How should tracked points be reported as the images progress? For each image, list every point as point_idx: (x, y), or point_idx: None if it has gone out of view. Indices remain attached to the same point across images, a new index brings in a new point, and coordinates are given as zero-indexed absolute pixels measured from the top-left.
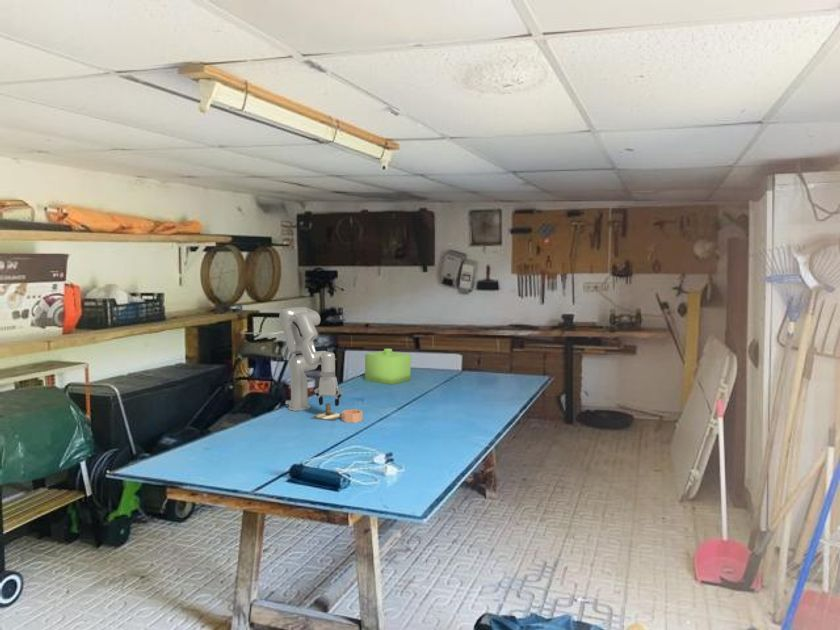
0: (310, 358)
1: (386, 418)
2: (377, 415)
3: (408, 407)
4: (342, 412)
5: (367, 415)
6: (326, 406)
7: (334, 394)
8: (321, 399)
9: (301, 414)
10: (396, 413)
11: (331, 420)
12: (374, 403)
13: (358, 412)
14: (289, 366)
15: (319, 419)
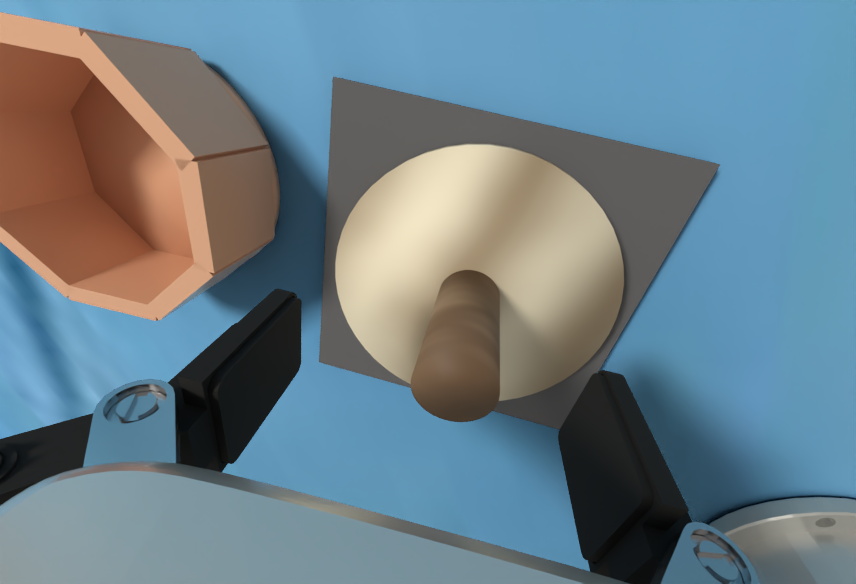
0: None
1: (4, 294)
2: (113, 368)
3: None
4: (169, 136)
5: (173, 367)
6: (477, 340)
7: (17, 494)
8: (605, 493)
9: (807, 391)
10: (49, 412)
11: (380, 99)
12: None
13: (90, 268)
14: None
15: (560, 128)
